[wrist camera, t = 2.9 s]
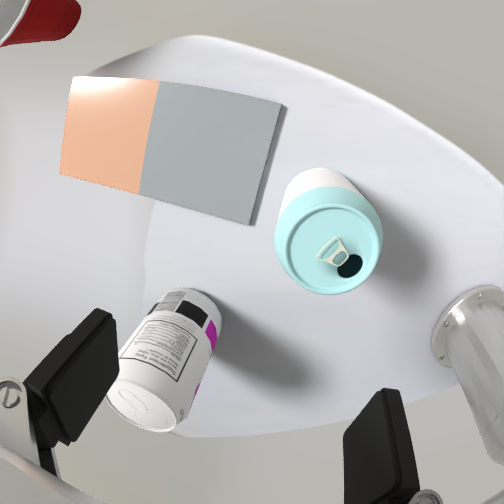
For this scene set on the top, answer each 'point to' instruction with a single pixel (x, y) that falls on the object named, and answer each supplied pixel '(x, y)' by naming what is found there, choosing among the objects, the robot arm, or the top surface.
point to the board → (169, 142)
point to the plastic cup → (37, 20)
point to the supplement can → (166, 360)
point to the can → (327, 233)
